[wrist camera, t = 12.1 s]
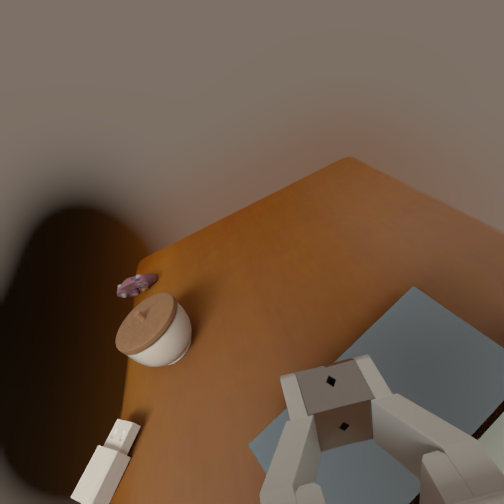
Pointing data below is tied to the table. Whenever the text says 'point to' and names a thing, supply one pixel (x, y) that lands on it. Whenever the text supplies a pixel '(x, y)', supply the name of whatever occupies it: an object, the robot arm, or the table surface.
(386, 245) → the table surface
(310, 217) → the table surface
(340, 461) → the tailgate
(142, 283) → the video game controller
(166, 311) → the lidded bowl
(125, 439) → the charging cable
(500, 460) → the tray
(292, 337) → the table surface
